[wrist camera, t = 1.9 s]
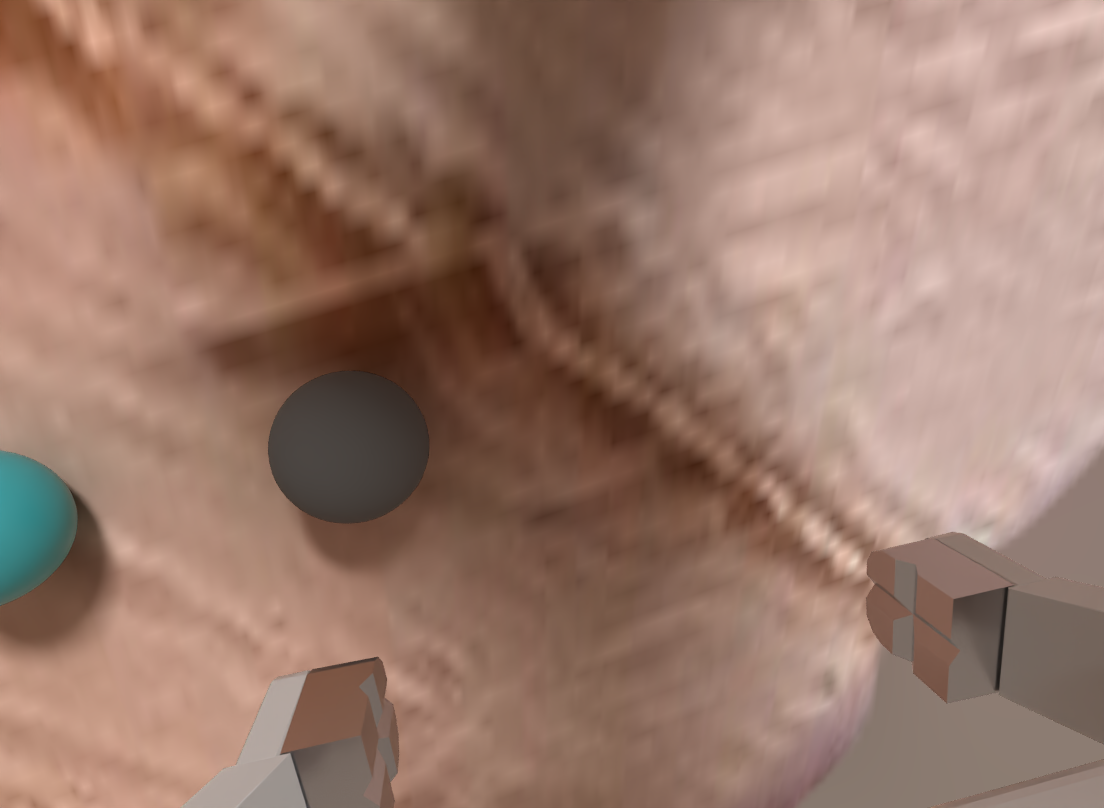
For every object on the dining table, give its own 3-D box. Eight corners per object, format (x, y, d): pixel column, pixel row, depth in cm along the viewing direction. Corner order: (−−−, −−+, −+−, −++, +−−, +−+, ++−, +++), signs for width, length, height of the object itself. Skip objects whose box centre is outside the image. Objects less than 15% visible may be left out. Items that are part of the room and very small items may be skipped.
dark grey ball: (414, 345, 26) (401, 373, 20) (445, 470, 27) (442, 530, 22) (273, 374, 25) (219, 411, 19) (315, 500, 27) (276, 569, 21)
